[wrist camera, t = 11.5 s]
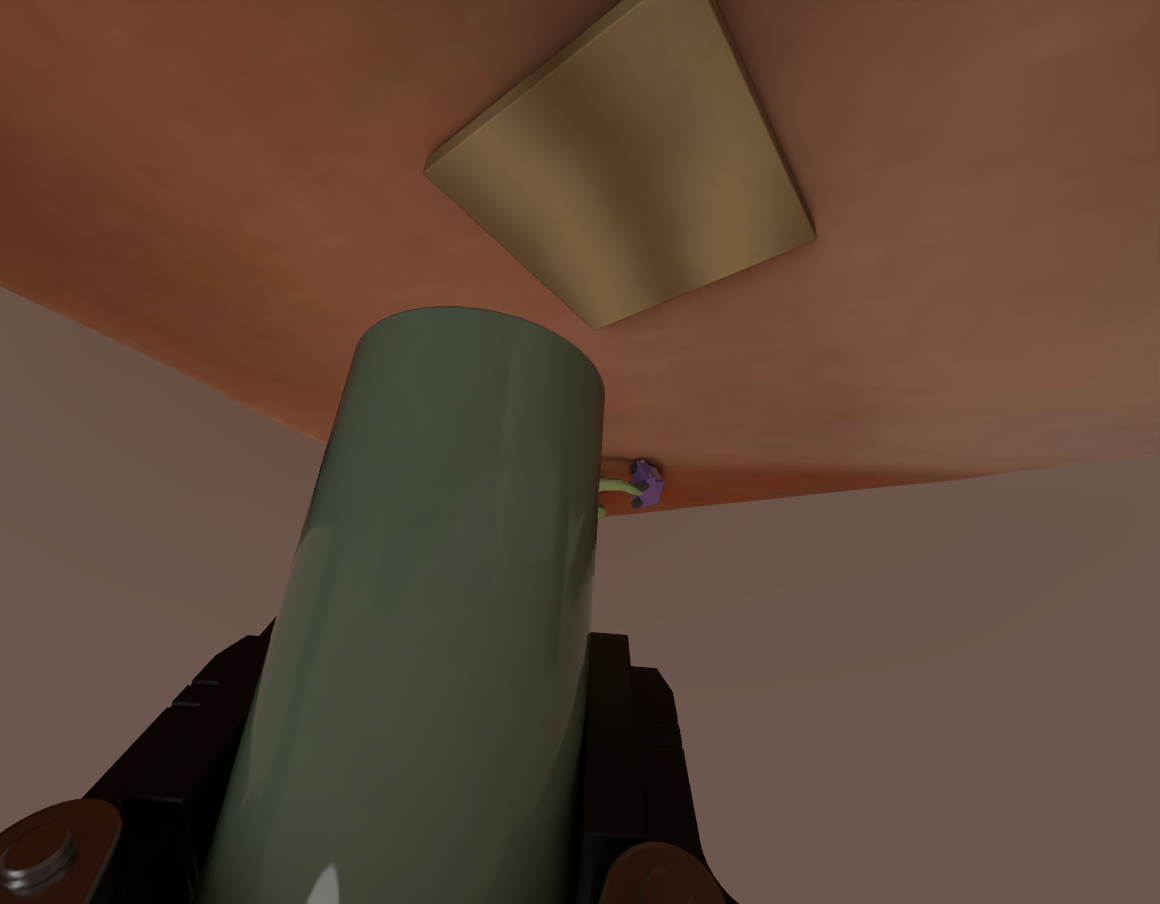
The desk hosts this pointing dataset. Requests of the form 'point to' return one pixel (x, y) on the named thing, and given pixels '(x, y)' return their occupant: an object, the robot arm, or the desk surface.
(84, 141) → the desk surface
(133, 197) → the desk surface
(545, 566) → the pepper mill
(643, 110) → the plate
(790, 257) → the desk surface
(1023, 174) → the desk surface
